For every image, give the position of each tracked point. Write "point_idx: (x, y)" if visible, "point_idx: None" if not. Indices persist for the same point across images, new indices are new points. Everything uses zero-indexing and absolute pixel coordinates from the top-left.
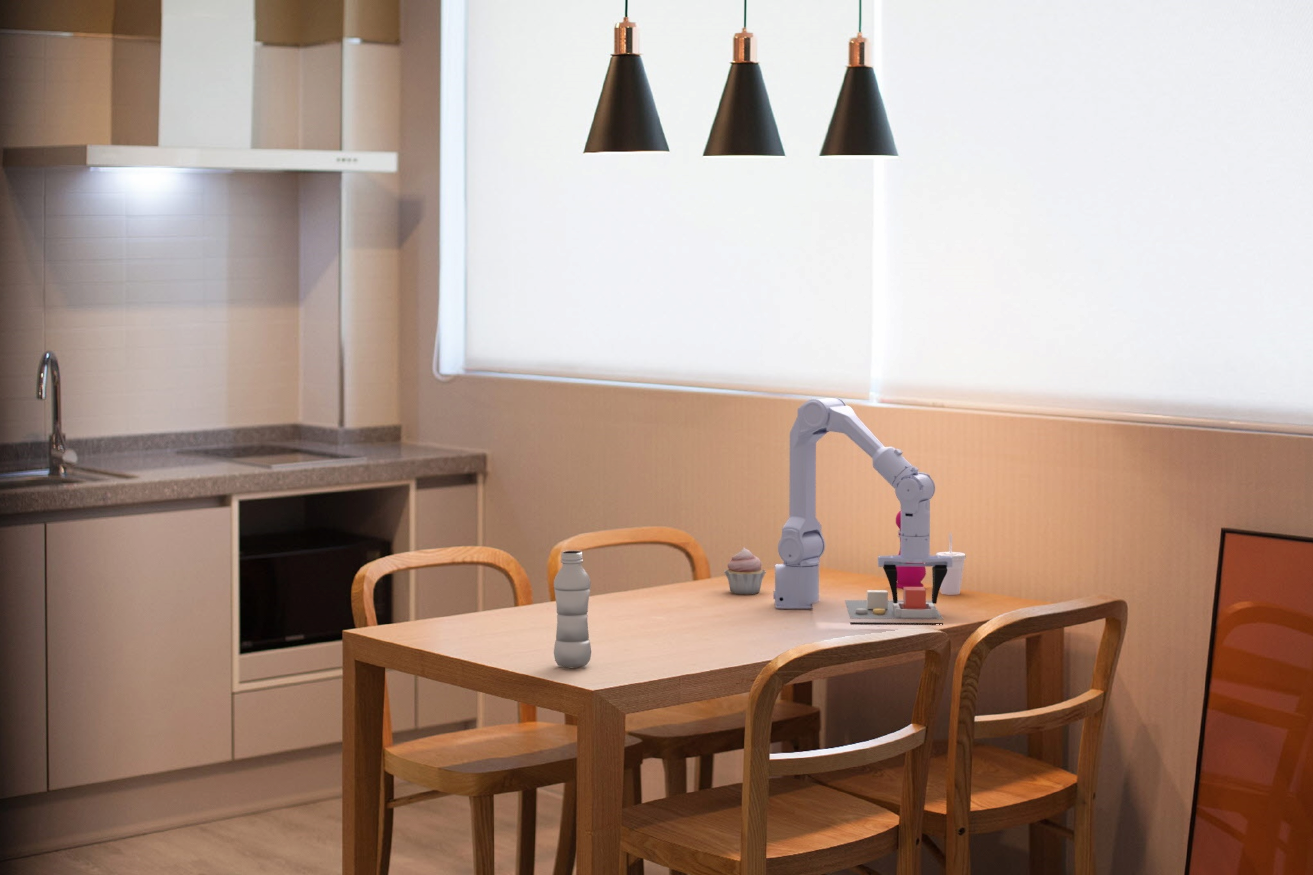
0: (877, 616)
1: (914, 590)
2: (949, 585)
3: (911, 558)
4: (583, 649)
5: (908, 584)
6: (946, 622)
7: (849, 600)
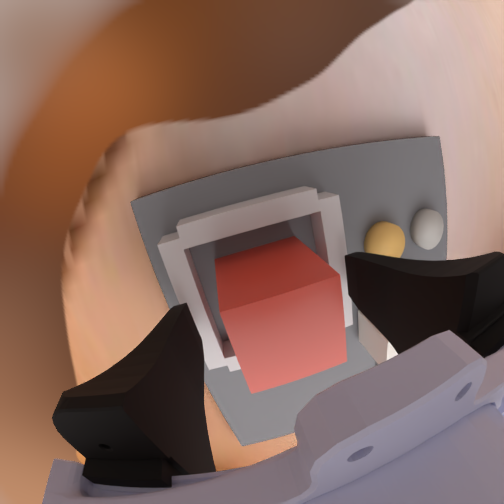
0: (383, 184)
1: (288, 291)
2: None
3: (464, 422)
4: None
5: None
6: (138, 258)
7: None
